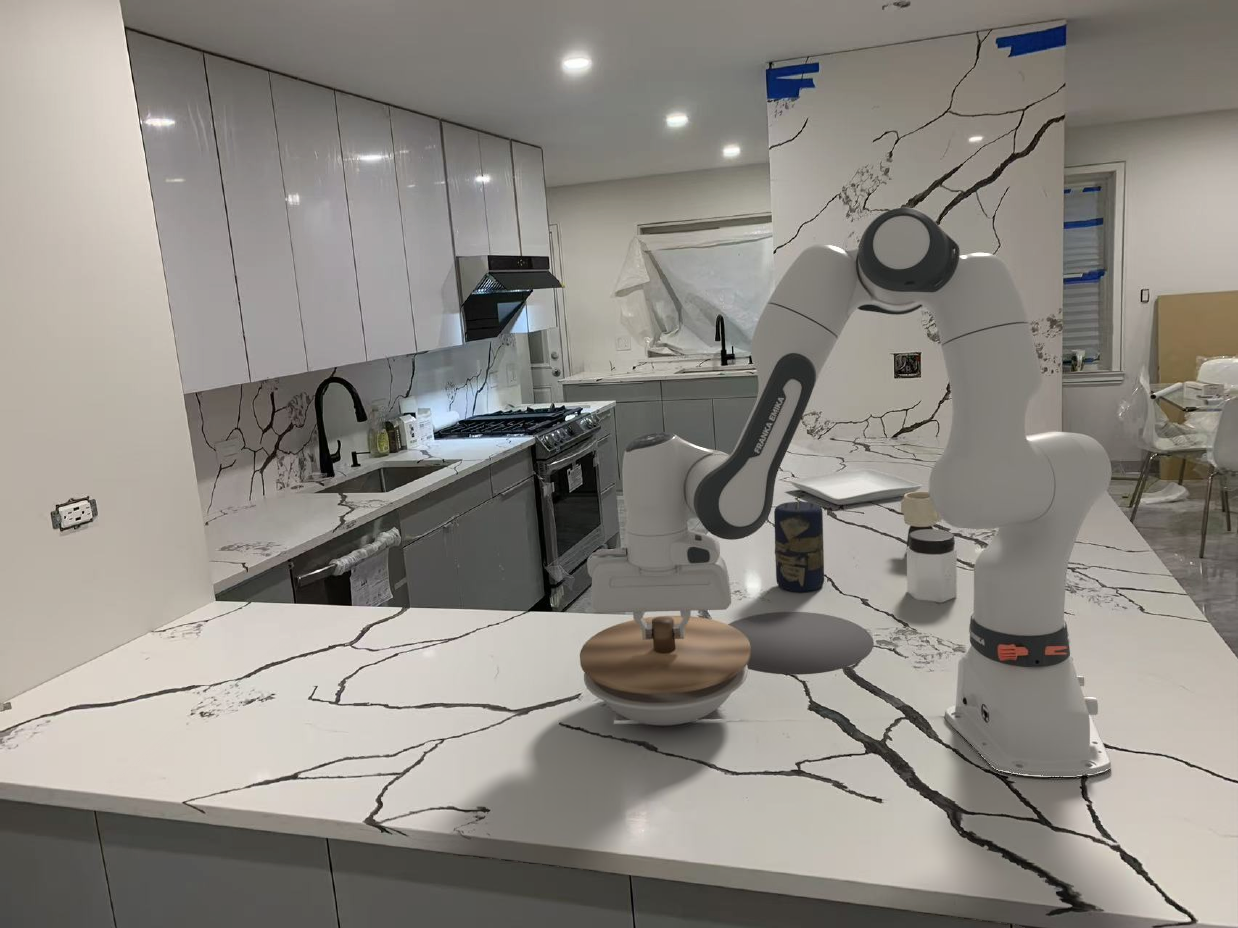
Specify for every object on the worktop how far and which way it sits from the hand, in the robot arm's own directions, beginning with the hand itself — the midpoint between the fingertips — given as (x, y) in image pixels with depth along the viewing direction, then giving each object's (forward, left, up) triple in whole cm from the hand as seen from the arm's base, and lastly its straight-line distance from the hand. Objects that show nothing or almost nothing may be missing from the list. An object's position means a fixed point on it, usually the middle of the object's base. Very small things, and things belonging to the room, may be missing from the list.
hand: (663, 637), depth 129 cm
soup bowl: (-1, 0, -11) cm, 11 cm away
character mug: (+71, -52, -11) cm, 89 cm away
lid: (0, 0, -3) cm, 3 cm away
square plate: (+129, -46, -12) cm, 138 cm away
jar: (+44, -48, -11) cm, 66 cm away
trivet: (+23, -20, -11) cm, 33 cm away
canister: (+51, -24, -11) cm, 58 cm away
